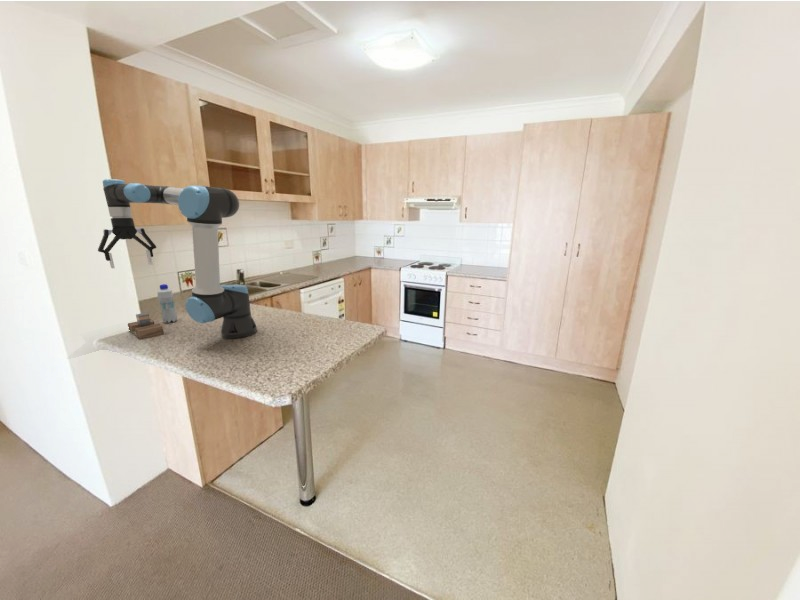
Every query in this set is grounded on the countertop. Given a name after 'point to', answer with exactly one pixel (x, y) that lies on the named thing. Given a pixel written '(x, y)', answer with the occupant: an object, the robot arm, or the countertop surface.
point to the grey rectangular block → (143, 319)
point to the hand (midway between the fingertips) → (132, 266)
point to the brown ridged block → (146, 330)
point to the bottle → (167, 304)
